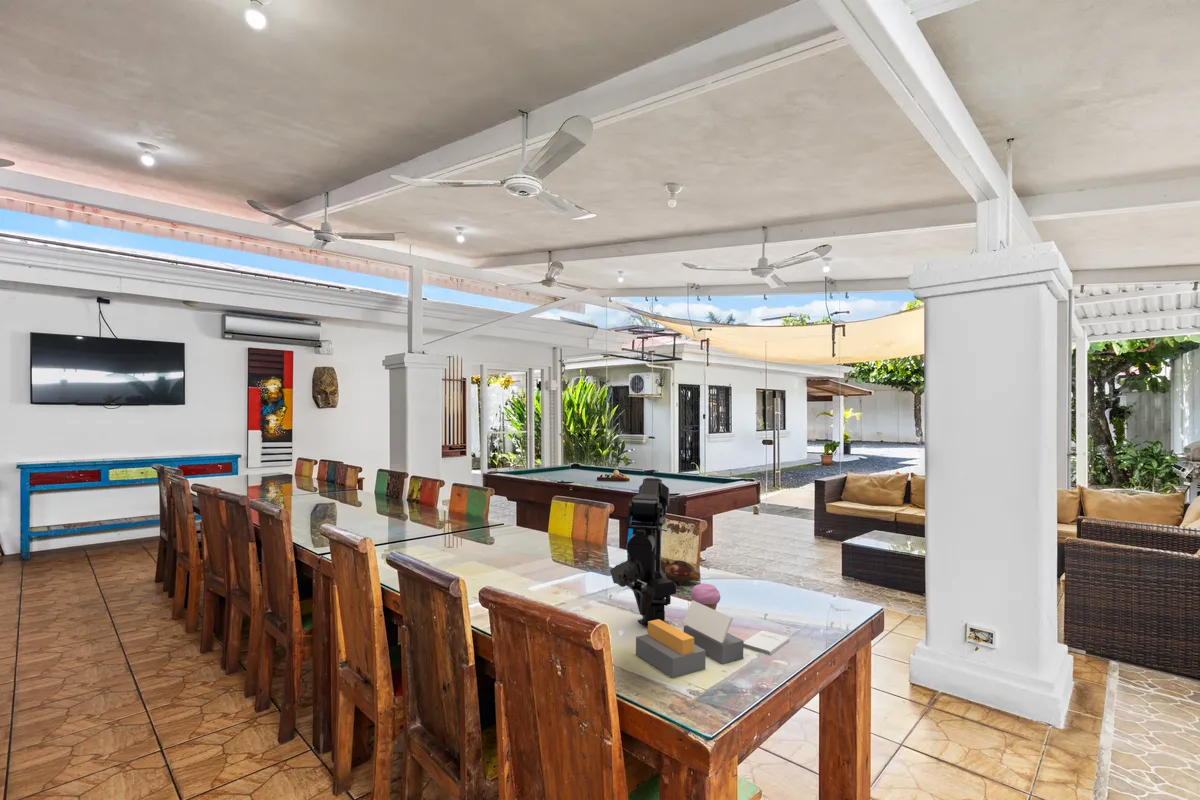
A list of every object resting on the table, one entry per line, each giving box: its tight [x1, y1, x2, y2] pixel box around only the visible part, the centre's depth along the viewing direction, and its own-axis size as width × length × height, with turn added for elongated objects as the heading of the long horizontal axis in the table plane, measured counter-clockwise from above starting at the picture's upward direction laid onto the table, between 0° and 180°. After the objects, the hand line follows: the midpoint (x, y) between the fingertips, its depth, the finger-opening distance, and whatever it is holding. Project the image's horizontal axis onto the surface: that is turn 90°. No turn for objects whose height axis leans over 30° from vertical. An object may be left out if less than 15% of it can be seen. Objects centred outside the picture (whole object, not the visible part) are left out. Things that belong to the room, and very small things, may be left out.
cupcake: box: [690, 582, 721, 611], centre depth 183 cm, size 9×9×10 cm
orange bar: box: [647, 619, 694, 655], centre depth 152 cm, size 14×4×4 cm, turn 31°
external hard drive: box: [743, 630, 790, 656], centre depth 164 cm, size 2×8×12 cm
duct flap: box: [682, 599, 733, 643], centre depth 158 cm, size 15×6×1 cm
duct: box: [635, 625, 745, 679], centre depth 155 cm, size 15×22×4 cm, turn 121°
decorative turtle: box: [661, 558, 701, 586], centre depth 218 cm, size 10×15×8 cm, turn 72°
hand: (642, 614), depth 147 cm, fingers closed
